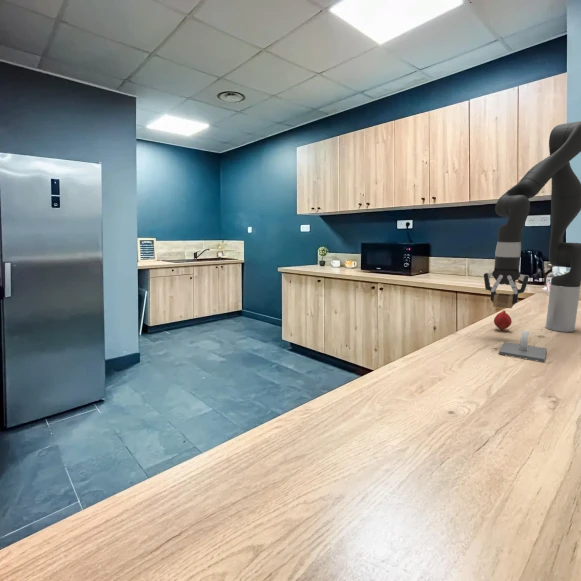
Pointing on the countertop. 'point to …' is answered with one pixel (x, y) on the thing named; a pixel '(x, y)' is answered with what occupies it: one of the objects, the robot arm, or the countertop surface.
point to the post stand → (523, 349)
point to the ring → (503, 300)
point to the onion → (502, 320)
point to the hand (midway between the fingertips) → (503, 303)
